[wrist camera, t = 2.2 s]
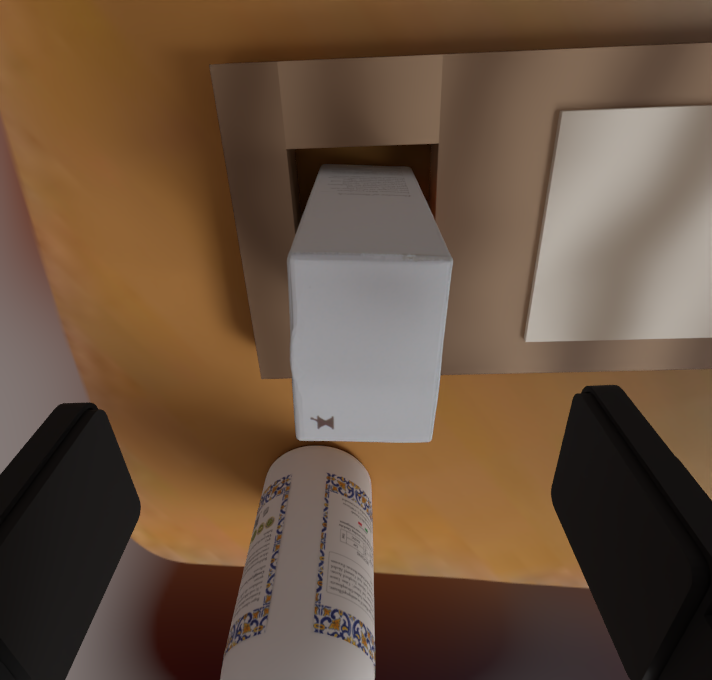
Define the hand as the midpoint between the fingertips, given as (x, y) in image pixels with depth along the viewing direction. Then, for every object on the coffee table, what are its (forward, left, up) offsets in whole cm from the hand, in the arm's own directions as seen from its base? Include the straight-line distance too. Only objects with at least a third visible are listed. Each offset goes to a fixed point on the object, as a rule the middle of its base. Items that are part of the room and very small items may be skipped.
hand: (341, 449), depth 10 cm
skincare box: (-1, 0, -16) cm, 16 cm away
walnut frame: (-7, 0, -15) cm, 17 cm away
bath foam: (+3, +17, -16) cm, 23 cm away
